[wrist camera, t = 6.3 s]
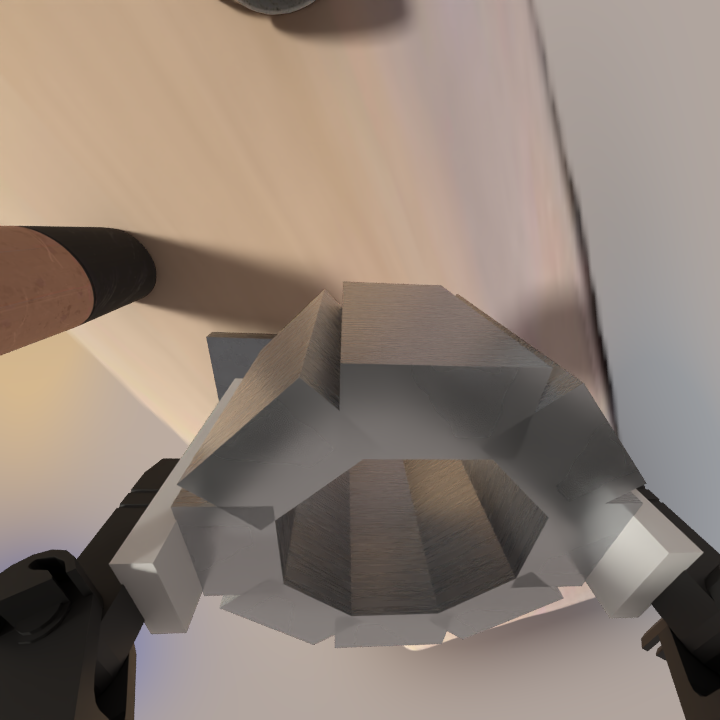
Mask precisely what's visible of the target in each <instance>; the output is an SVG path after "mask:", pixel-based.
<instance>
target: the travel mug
mask: <svg viewBox="0 0 720 720" xmlns="http://www.w3.org/2000/svg"><path fill="white" fill-rule="evenodd" d="M155 282H156V269H155V265H154V262H153V260H152V258H151V256H150V254H149V253H148V251H147V250H146V249H145V247H144V246H143V245H142V244H141V243H140V242H139V241H137V240H136V239H135V238H134V237H132V236H130V235H129V234H127V233H125V232H122V231H120V230H117V229H113V228H103V227H51V226H0V355H3V354H6V353H8V352H11V351H13V350H16V349H19V348H21V347H24V346H27V345H29V344H32V343H35V342H37V341H40V340H43V339H45V338H48V337H50V336H53V335H56V334H59V333H61V332H63V331H67V330H69V329H72V328H74V327H77V326H79V325H82V324H84V323H86V322H88V321H91V320H93V319H95V318H98V317H100V316H102V315H105V314H107V313H109V312H111V311H114V310H116V309H118V308H121V307H123V306H125V305H128V304H130V303H132V302H134V301H137V300H139V299H141V298H143V297H145V296H146V295H148V294H149V293H150V292H151V290H152V289H153V287H154V285H155Z"/></svg>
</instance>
